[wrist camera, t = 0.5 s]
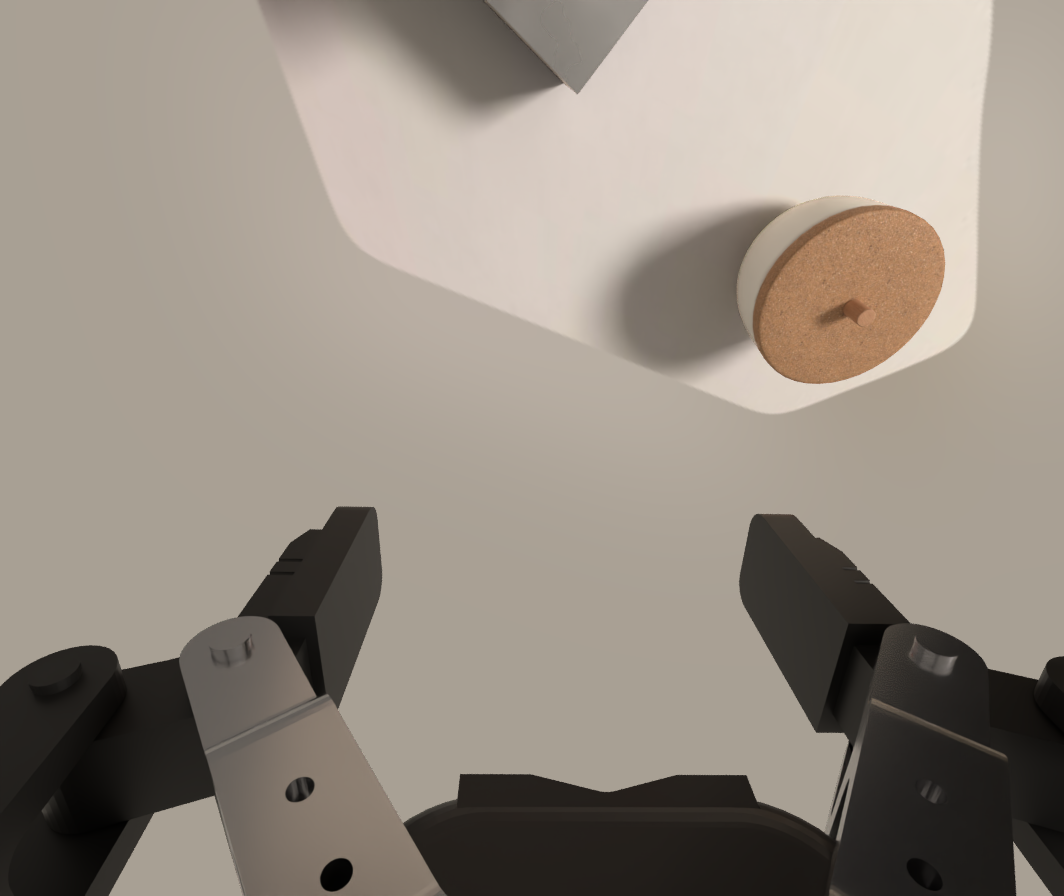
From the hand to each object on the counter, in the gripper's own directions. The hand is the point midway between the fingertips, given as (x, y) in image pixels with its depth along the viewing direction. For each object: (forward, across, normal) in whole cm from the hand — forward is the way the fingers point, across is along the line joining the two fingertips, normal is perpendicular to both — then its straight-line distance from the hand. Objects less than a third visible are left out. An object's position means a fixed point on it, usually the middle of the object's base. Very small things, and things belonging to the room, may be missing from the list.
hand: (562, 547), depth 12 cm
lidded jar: (+30, -18, -4) cm, 35 cm away
